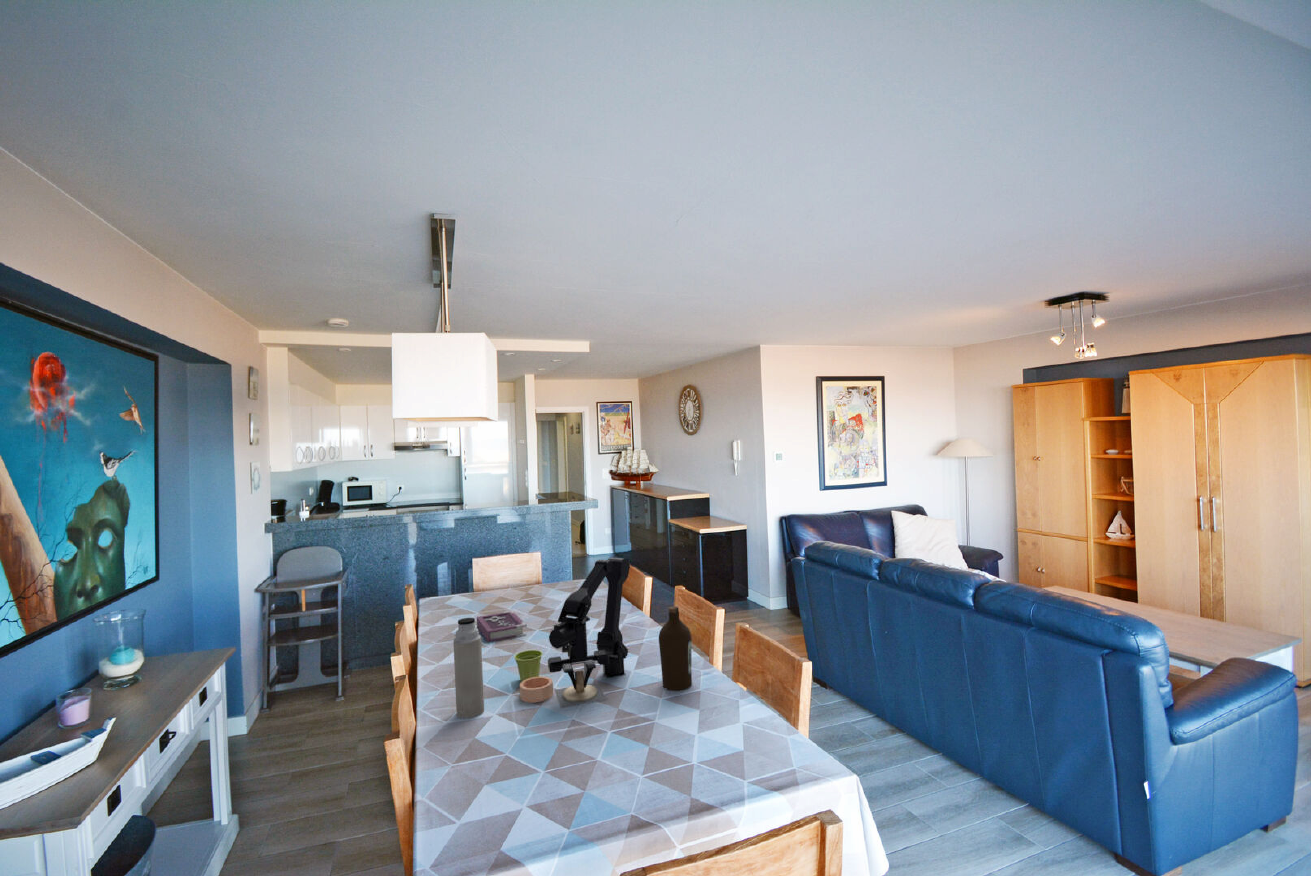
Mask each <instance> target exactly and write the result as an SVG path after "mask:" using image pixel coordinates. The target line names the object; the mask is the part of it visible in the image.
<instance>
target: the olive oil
mask: <svg viewBox="0 0 1311 876" xmlns="http://www.w3.org/2000/svg"><path fill="white" fill-rule="evenodd" d="M692 640H693V639H692V634H691V631H690V629H689V627H688V626H687V625H686V624H685V622H683V621H682V620H681V619H680V610H679V607H678V606H676V605H674V606H669V607H668V620H667V622H665V624H664V625H663V626H662V628H661V629H660V630H659V634H658V644H659V647H658V648H659V656H660V667H661V679H662V687H663V688H664V689H666V690H668V691H673V692H674V691H675V692H676V691H677V692H678V691H685V690H688V689H690V688H691V686H692V685H693V680H692V679H693V677H692V673H693V672H692V671H693V670H692V669H693V667H692V662H693V661H692V649H693V648H692V646H693V645H692V644H693V643H692Z"/></svg>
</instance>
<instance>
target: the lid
mask: <svg viewBox="0 0 1311 876" xmlns="http://www.w3.org/2000/svg"><path fill="white" fill-rule="evenodd" d="M574 676H575V683H576V689H574V687H573V685H571V686H569V688H568V687H566V688H567V689H566V690H565V691H564V692H563V697H564V699H566V700H568V701H572V702H581V701H586V700H589V699H592V698H593V697H595V696H596V694H597V689H596V688H595V687H594V686H592V685H586V688H584V670H576V671H574Z"/></svg>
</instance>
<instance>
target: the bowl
mask: <svg viewBox="0 0 1311 876" xmlns="http://www.w3.org/2000/svg"><path fill="white" fill-rule="evenodd" d="M519 694H520V696H519V697H520V701H523V702H525V703H532V704H533V703H538V702H539V703H540V702H543V701H546V700H549V699H550V698H551V697H553V695H554V683H553V679H552V678H551V677H548V676H539V677H533V678H529V679H526V680H524V681H520V683H519Z"/></svg>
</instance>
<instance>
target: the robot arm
mask: <svg viewBox="0 0 1311 876" xmlns="http://www.w3.org/2000/svg"><path fill="white" fill-rule="evenodd" d="M630 569H631V564H630V562H629V561H628V559H626V558H625V557H624V558H623V557H609V558H608V559H598V560H595V562H594V566H593V567H592V569H591V570H590V572H589V573H588V575H587V577H586V578H585V579H584V581H583V583H582V584H581V586H580V587H579V589H578V590H576V591H574V592H572V593H571V594H570V595H569V596H568V597H567V598H566V599H565V600H564V603H563V606H562V608H561V611H560V614H559V617H558V619H557V624H554V625H553V629H552V630H551V631H550V632H549V636H548V641H549V643H550V646H551V647H553V648H554V649H561V652H562V653H563V654H564V653H567V657H568V658H566V659H565V658H564V659H562V657H561V656H553V657H549V658H548V659H547V667H548V670H549V673H557V672H561V671H562V670H563V673H564V674H567V675H568V676H569V679H570V681H571V683H572V684H571V685H572V686H573V687H574V689H576V683H575V670H574V668H573V665H579V664H583V667H584V669H583V671H584V688H586V685H587V684H588V682H589V679H590V676H591V674H592V672H593V670H594V669H597V665H596V662H597V664H598V665H600V666H602V674H603V675H604V676H605V677H606V679H607V678H615V677H622V676H626V675H627V674H626V673H625V663H624V662H625V660H624V659H626V658H627V657H628V655H629V648H627V646H626V645H625V644H624V643H623V641H624V640H623V634H622V632H621V630H620V618H621V609H622V607H621V606H622V598H623V597H622V596H623V586H624V584H625V583H626V580H627V579H628V578H629V574H630ZM605 578H606V581H607V583H608V586H607V594H606V595H607V596H606V598H607V599H606V606H605V616H604V617H605V618H604V625H603V628H602V629H601V631H598V632H597V634H596V635H597V636H596V637H597V638H596V639H597V640H596V642H595V643H596V649H597V650H594V651H593V654H591V655H588V639H587V637H588V635H587V622H589V621H590V620H591V618H590V617H589V616H588V614H589V611H590V609H591V607H592V599H593V597H594V595H595V593H596V592H597V591H598V589H599V587H600V585H601V584H602V583H603V581H604V579H605Z"/></svg>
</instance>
